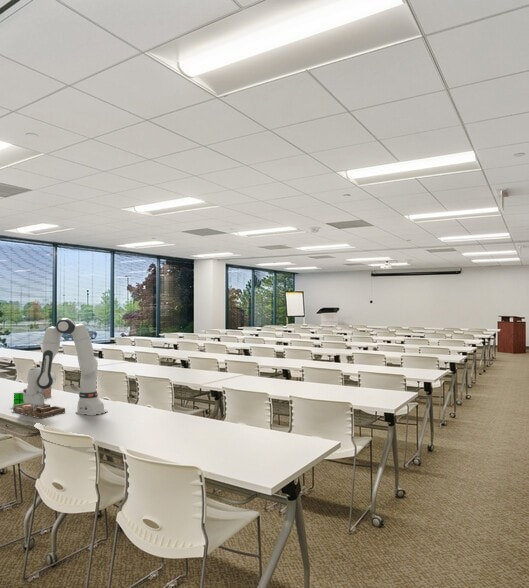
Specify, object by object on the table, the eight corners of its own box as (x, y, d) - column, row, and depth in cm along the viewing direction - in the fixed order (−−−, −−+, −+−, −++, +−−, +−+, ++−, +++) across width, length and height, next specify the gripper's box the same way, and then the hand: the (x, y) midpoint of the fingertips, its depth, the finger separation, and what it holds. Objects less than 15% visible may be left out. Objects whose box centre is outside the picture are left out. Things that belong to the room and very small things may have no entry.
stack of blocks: (51, 396, 369) (51, 381, 369) (44, 398, 363) (45, 383, 364) (34, 394, 379) (34, 379, 379) (27, 395, 373) (27, 380, 373)
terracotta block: (36, 412, 316) (36, 405, 316) (28, 413, 311) (28, 407, 311) (30, 410, 321) (30, 404, 321) (21, 412, 316) (22, 405, 316)
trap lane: (66, 412, 316) (66, 406, 316) (39, 418, 300) (39, 411, 300) (39, 406, 334) (39, 400, 334) (13, 411, 317) (13, 405, 317)
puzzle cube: (34, 403, 342) (34, 390, 342) (25, 406, 332) (26, 393, 332) (21, 403, 343) (22, 390, 343) (13, 406, 333) (13, 393, 333)
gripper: (47, 391, 310) (46, 411, 310) (30, 388, 321) (29, 407, 321) (38, 393, 305) (37, 413, 305) (21, 389, 316) (21, 409, 315)
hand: (33, 410), depth 313 cm, fingers closed
